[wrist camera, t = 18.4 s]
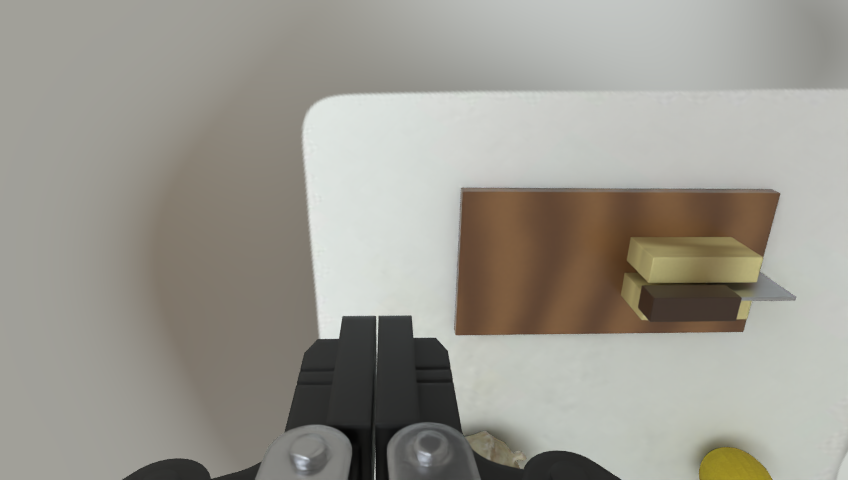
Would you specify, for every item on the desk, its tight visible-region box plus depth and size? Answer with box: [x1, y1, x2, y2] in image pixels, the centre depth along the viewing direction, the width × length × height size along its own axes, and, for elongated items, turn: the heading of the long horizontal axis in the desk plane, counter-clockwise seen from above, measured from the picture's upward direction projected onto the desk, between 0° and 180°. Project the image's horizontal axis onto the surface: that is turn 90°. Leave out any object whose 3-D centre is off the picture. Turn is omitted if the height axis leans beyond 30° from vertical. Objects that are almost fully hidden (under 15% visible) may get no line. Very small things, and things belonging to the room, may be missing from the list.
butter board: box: [454, 188, 780, 335], centre depth 42 cm, size 24×12×5 cm, turn 89°
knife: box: [638, 272, 796, 322], centre depth 40 cm, size 11×2×7 cm, turn 89°
